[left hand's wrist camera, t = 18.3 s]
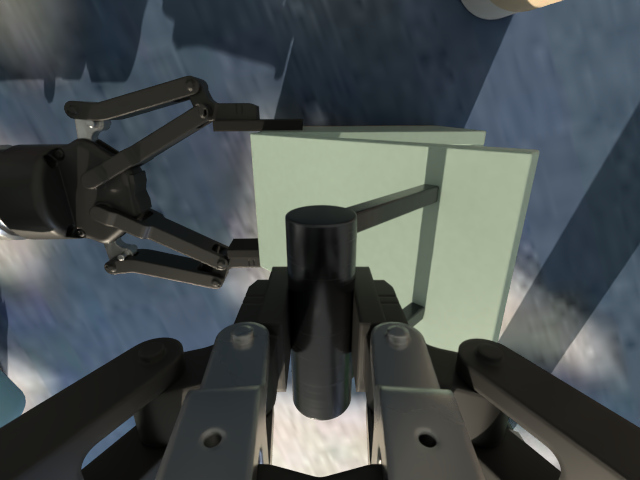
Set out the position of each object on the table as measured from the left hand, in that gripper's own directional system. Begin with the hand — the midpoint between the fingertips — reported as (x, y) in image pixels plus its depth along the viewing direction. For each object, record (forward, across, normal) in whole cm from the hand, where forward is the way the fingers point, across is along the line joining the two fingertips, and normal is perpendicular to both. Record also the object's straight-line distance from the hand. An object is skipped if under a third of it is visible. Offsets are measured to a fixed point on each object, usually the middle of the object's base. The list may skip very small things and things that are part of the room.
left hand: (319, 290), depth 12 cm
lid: (+7, -2, 0) cm, 7 cm away
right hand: (+17, +1, 0) cm, 17 cm away
